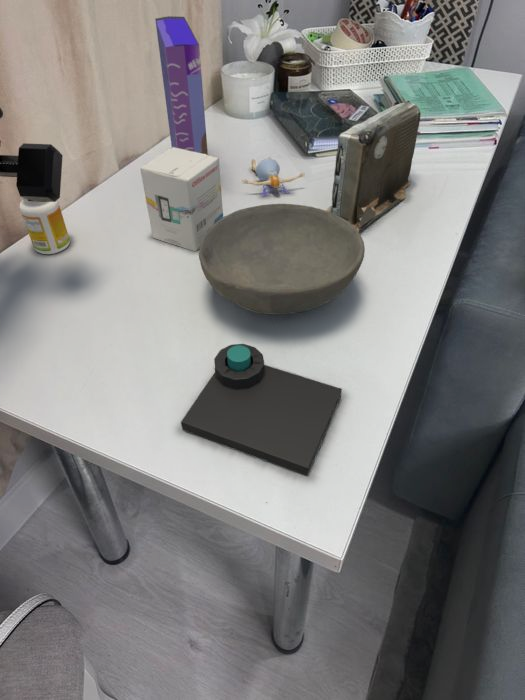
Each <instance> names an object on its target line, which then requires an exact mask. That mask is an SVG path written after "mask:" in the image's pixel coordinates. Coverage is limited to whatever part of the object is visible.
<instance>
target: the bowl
mask: <svg viewBox="0 0 525 700" xmlns="http://www.w3.org/2000/svg"><path fill="white" fill-rule="evenodd" d="M365 253H366V249H365V241H364V240H363V237H362V235H361V234H360V231H358V230H357V229H356V228H355V227H354V226H353V225H352V224H351V223H349V222H348V221H346V220H345V219H343V218H341V217H339V216H337V215H335V214H332V213H330V212H328V211H326V210H324V209H321V208H317V207H314V206H309V205H303V204H296V203H295V204H294V203H270V204H269V203H268V204H261V205H255V206H248V207H246V208H245V207H244V208H242V209H238V210H236V211H235V210H234V211H233V212H231V213H229V214H227V215H225V216H223V218H222V219H220V220H219V221H218V222H216V223H215V224H214V225H213V226H212V227H211V228H210V229H209V230H208V231H207V233H206V234H205V236H204V238H203V240H202V242H201V245H200V248H199V249H198V260H199V263H200V267H201V270H202V272H203V275H204V276H205V278H206V280H207V281H208V283H209V284H210V286H211V287H212V288H213V290H215V292H216V293H218V294H220V295H221V296H222V297H223V298H225V299H226V300H228V301H229V302H232V303H233V304H235V305H237V306H239V307H241V308H243V309H246V310H248V311H251V312H255V313H258V314H263V315H287V314H289V315H290V314H296V313H303V312H306V311H309V310H313V309H316V308H319V307H320V306H322V305H324V304H326V303H328V302H330V301H332V300H333V299H335V298H336V297H338V296H339V295H340V294H342V293H343V292H344V291H345V290H346V289H347V288H348V287H349V286H350V284H351V283H352V282H353V280H354V279H355V277H356V276H357V273H358V272H359V270H360V268H361V266H362V263H363V261H364V259H365Z"/></svg>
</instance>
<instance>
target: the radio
mask: <svg viewBox="0 0 525 700" xmlns="http://www.w3.org/2000/svg"><path fill="white" fill-rule="evenodd" d="M420 122H421V110H420V108H419V107H418V106H417V105H416V104H415V103H413V102H411V101H410V100H407V101H405V102H401V103H397V104H395V105H393V106H390V107H388V108H386V109H384V110H383V111H381V112H380V111H379V112H378V113H376V114H374V115H373V116H371V117H368V118H367V119H366V120H365V121H362V122H360V123H356V124H354V125H352V126H351V127H350V128H348V129H347V130H345V131H343V132H341V133H340V134H339V136H338V137H337V151H336V154H335V164H334V165H335V166H334V167H335V168H334V174H333V175H334V176H333V177H334V178H333V183H332V184H333V185H332V191H331V205H330V206H329V207H328V208H327V209H326V210H325V211H328V212H330V213H332V214H335V215H337V216H339V217H341V218H343V219H345V220H346V221H348V222H349V223H351V224H352V225H353V226H354V227H355V228H356V229H357V230H358V232H360V231H362V230H364V229H365V228H366V227H368V225H370V224H371V223H373V222H374V221H376V220H377V219H378V218H379V217H381V216H383V215H384V214H385V213H386V212H388V211H389V210H391V209H392V208H393V207H395V206H396V205H398V203H400V202H401V201H403V200H404V199H405V198H406V196H407V193H406V191H405V190H406V189H407V187H409V186H410V185H411V182H410V181H409V177H410V175H411V170H412V164H413V158H414V154H415V149H416V144H417V138H418V131H419V129H420V128H419V127H420Z"/></svg>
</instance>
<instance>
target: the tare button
mask: <svg viewBox="0 0 525 700" xmlns="http://www.w3.org/2000/svg"><path fill="white" fill-rule="evenodd" d="M227 361H228V366H229V368H230V369H232V370H234V371H244V370H246V369H248V368H249V367H250V365H251V352H250V350H249V349H248V348H247V347H245V346H241V345H237V346H233V347H231V348H230V349H229V350H228V352H227Z"/></svg>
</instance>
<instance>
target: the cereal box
mask: <svg viewBox="0 0 525 700" xmlns="http://www.w3.org/2000/svg"><path fill="white" fill-rule="evenodd" d="M155 28H156V36H157V43H158V51H159V58H160V59H159V60H160V67H161V75H162V81H163V83H162V84H163V90H164V97H165V106H166V114H167V121H168V130H169V138H170V145H171V148H172V147H176V148H180V149H185V150H189V151H193V152H198V153H202V154H206V155H209V152H208V150H209V149H208V139H207V127H206V126H207V125H206V115H205V114H206V113H205V102H204V101H205V100H204V90H203V89H204V87H203V78H202V77H203V76H202V75H203V73H202V65H201V51H200V43H199V41H198V40H197V37H196V36H195V33H194V32H193V30H192V29H191V26H190V25H189V23H188V21H187V19H186V17H185V16H173V15H172V16H171V15H168V16H161V17H157V18H155Z"/></svg>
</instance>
